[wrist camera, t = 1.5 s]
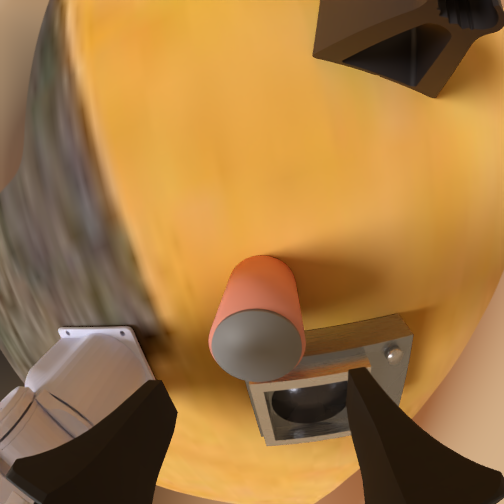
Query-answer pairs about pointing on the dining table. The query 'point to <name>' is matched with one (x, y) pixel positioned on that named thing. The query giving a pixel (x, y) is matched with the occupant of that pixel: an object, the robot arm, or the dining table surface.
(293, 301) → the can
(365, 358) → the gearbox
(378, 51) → the phone stand
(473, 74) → the dining table surface
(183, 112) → the dining table surface
